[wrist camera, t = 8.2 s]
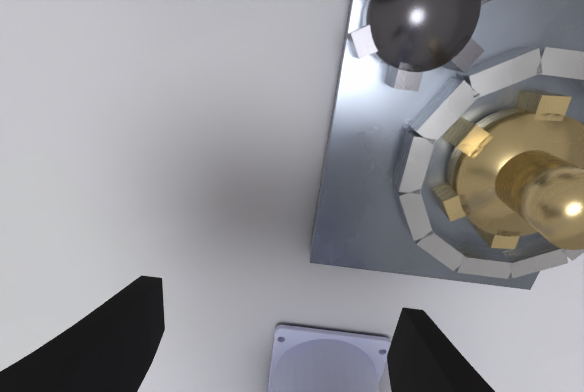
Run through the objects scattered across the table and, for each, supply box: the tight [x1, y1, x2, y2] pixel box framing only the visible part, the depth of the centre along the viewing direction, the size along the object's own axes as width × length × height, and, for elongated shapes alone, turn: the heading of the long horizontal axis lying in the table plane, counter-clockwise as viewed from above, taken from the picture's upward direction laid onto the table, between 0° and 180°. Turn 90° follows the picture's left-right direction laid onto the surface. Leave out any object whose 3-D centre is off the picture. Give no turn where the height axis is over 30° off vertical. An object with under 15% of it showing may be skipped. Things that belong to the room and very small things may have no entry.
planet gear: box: [432, 90, 584, 250], centre depth 15 cm, size 7×7×5 cm
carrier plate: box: [310, 0, 584, 290], centre depth 16 cm, size 16×15×3 cm
